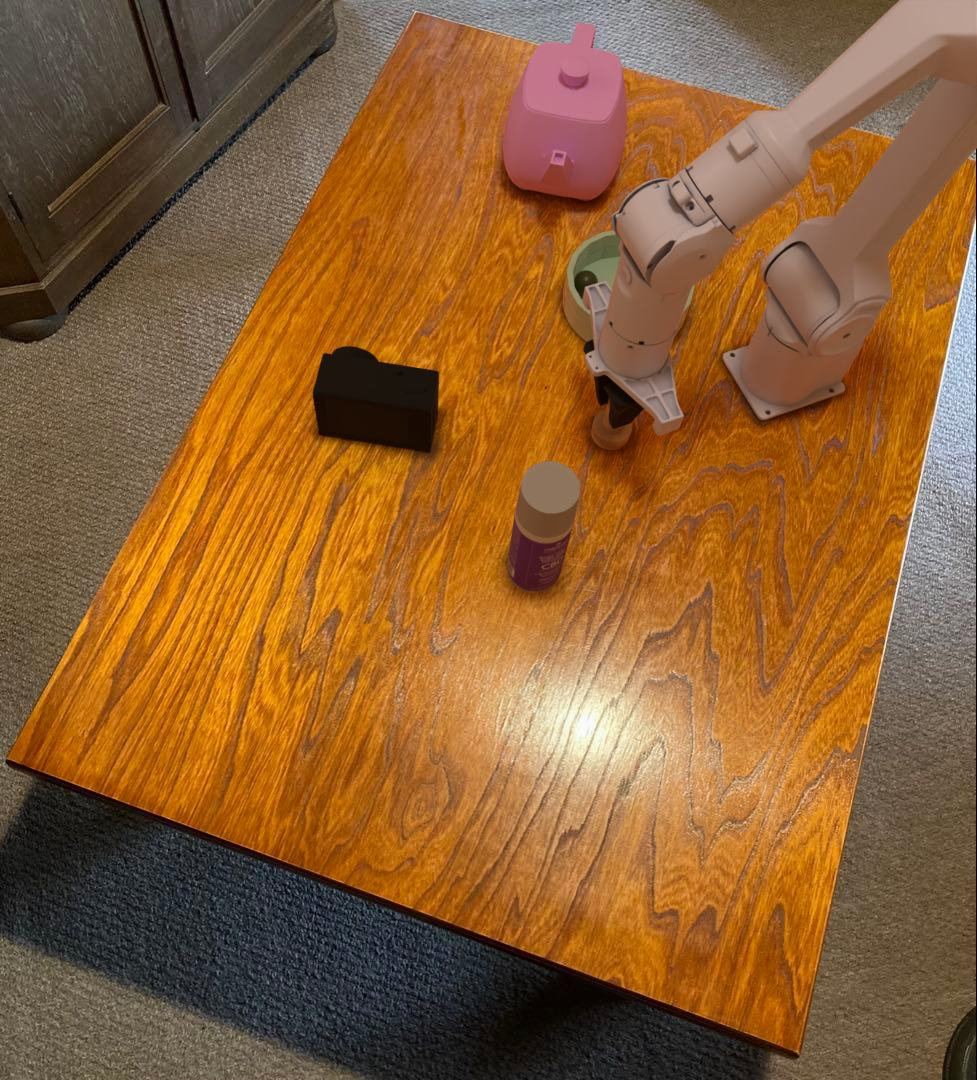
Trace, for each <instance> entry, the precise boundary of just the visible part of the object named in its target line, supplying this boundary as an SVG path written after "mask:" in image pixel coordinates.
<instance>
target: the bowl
mask: <svg viewBox="0 0 977 1080" xmlns="http://www.w3.org/2000/svg"><path fill="white" fill-rule="evenodd" d="M619 242H620V238H619V237H618V236H617V235H616V234H615V232H614V230H613V229H612V230H605V231H602V232H599V233H598V234H595V235H593V236H591V237H589V238H587V239H585V240H584V241H583V242H581V244H580V245H579V246H578V247H577V248H576V249H575V250H574V251H573V253H572V254H571V256H570V260H569V262H568V266H567V267H566V272H565V277H564V283H563V288H562V310H563V312H564V316H565V318H566V320H567V322H568V324H569V326H570V327H571V329H572V330H573V331H574V332H575V334H576V335H577V336H579V337H580V338H581V339H582V340H583V341H584V342H585V343H587V342H588V341H590V340H592V339H593V332H592V323H591V314H590V310H588V309H586V308H585V306H584V304H583V302H582V299H583V295H581V294H579V293H578V292H577V290H576V289H575V285H574V278H575V276H576V275H577V274H578V273H579V272H580V271H583V270H588V271H591V272H593V273H594V274H595V275H596V277H597V279H598V283H600V282H603V281H606V282H607V283H608V285H609V286H610V288H611V289H612V288H613V284H614V280H615V275H616V271H617V267H618V263H619V259H620V255H621V253H620V252H619V250H618V247H619ZM695 288H696V284H695V285H693V286H692V288H691V291H690V294H689V297H688V300H687V303H686V305H685V308H684V311H683V314H682V317H681V320H680V323H679V326H678V329H677V331H676V335H675V337H674V339H675V338H676V337H677V336H678V334H679V333H680V331H681V329H682V328H683V326H684V323H685V320H686V318H687V315H688V312H689V309H690V306H691V303H692V300H693V296H694V293H695Z"/></svg>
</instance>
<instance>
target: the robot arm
mask: <svg viewBox="0 0 977 1080" xmlns="http://www.w3.org/2000/svg"><path fill="white" fill-rule="evenodd" d="M929 77H930V78H934V79H935V78H936V79H939V80H938V81H937V82H936V83H935V85H934V86H933V87H932V89H931V90H930V91H929V92H928V93H927V95H926V96H925V98H924V100H923V101H922V102H921V103H920V104H919V106H918V107H917V108H916V109H915V111H914V112H913V114H912V115H911V116H910V118H909V119H908V120H907V122H906V123H905V124H904V126H903V127H902V128H901V130H900V131H899V132H898V133H897V135H896V136H895V137H894V138H893V140H892V141H891V142H890V144H889V146H888V147H887V148H886V149H885V150H884V152H883V153H882V155H881V156H880V157H879V158H878V160H877V161H876V162H875V164H874V165H873V166H872V168H871V169H870V170H869V172H868V173H867V175H866V176H864V178H863V180H861V182H860V183H859V185H858V186H857V187H856V189H855V190H854V191H853V193H852V194H851V196H850V197H849V198H848V199H847V200H846V202H845V204H843V206H842V207H841V208H840V210H839V211H838V213H837V214H836V215H835V216H834V215H822V216H821V215H820V216H816V217H815V216H814V217H811V218H808V219H805V220H803V221H802V220H801V222H800V223H799V224H798V225H797V226H796V228H795V229H794V230H792V232H791V233H790V234H789V235H788V236H787V237H786V238H785V239H783V240H782V241H780V242H779V243H778V244H777V245H775V247H774V248H773V249H772V250H771V251H770V252H769V253H768V255H767V256H766V257H765V260H764V262H763V264H762V266H761V269H760V276H761V279H762V281H763V282H764V283H765V285H767V288H766V291H765V292H764V298H765V301H766V306H765V308H764V311H763V313H762V315H761V317H760V320H759V321H758V324H757V325H756V328H755V331H754V332H753V335H752V337H751V340H750V341H749V344H748V345H744V346H742V347H739V348H736V349H732V350H729V351H726V352H724V353H722V357H721V360H722V362H723V363H724V365H725V366H726V368H727V370H728V371H729V373H730V375H731V377H732V378H733V380H734V381H735V383H736V384H737V386H738V388H739V389H740V391H741V392H742V394H743V396H744V398H745V399H746V400H747V402H748V404H749V405H750V407H751V408H752V411H753V412H754V415H756V417H757V419H758V420H760V421H768V420H769V419H772V418H775V417H779V416H781V415H784V414H787V413H790V412H793V411H796V410H798V409H801V408H804V407H806V406H809V405H813V404H816V403H818V402H821V401H824V400H827V399H830V398H834V397H835V396H839V395H841V394H844V392H845V390H846V386H845V385H844V383H843V382H842V381H843V379H844V378H845V376H846V374H847V372H848V371H849V370H850V368H851V366H852V365H853V363H854V361H855V360H856V358H857V357H858V355H859V353H860V351H861V350H862V348H863V346H864V342H865V339H866V337H867V336H869V334H870V333H871V332H872V331H873V329H874V328H875V326H876V323H877V321H878V318H879V315H880V314H881V312H882V311H883V309H884V308H885V307H886V305H887V304H888V303H889V301H890V300H891V299H892V297H893V288H892V279H891V269H890V261H889V258H890V257H889V254H890V252H891V251H892V250H893V248H894V247H895V246H896V245H897V244H898V243H899V241H901V239H902V238H903V237H904V235H905V234H906V233H907V232H908V231H909V230H910V228H911V227H912V226H913V224H914V223H915V222H916V221H917V220H918V218H919V217H920V216H921V215H922V214H923V213H924V211H925V210H926V209H927V208H928V207H929V206H930V205H931V203H932V202H933V201H934V200H935V199H936V197H937V196H938V195H939V193H941V191H942V190H943V189H944V188H945V186H946V185H947V184H948V183H949V182H950V181H951V179H952V178H953V177H954V176H955V175H956V173H958V171H959V170H960V169H961V167H962V166H964V164H965V162H967V160H968V159H969V158H970V157H971V155H972V154H973V153H975V151H976V150H977V0H898V1H897V2H896V3H895V4H894V5H892V6H891V7H890V8H889V9H888V10H887V11H886V12H885V13H884V14H883V15H882V16H881V17H880V18H879V19H878V20H877V21H876V22H875V23H873V24H872V25H871V26H870V27H869V28H868V29H867V30H865V32H864V33H863V34H862V35H860V37H859V38H857V39H856V40H855V41H854V42H853V43H852V44H851V45H849V47H847V49H845V50H844V51H843V52H842V53H841V54H840V55H839V56H838V57H837V58H836V59H835V60H833V61H832V62H831V63H830V64H829V66H827V67H826V68H825V69H824V70H823V71H822V72H821V73H820V74H819V75H817V76H816V78H815V79H814V80H813V81H812V82H810V83H809V84H808V85H807V86H806V87H805V88H804V89H803V90H802V91H801V92H799V94H798V95H796V96H795V97H794V98H793V99H792V100H791V101H790V102H789V103H788V104H786V106H784V107H783V108H781V109H758V110H754V111H752V112H751V113H749V115H748V116H746V117H745V118H744V119H743V120H741V121H740V122H739V123H738V124H737V125H735V126H734V127H733V128H731V129H730V130H729V131H728V132H727V133H725V134H724V135H722V136H721V137H720V138H719V139H718V140H716V141H715V142H714V143H713V144H712V145H711V146H710V147H708V148H707V149H706V150H704V151H703V152H702V153H701V154H699V155H698V156H697V157H696V158H694V159H693V160H692V161H691V162H690V163H689V164H687V165H686V166H685V167H684V168H682V169H681V170H680V171H678V172H677V173H676V174H675V175H674V176H672V177H671V178H669V177H657V178H654V179H650V180H647V181H646V182H643V183H641V184H639V185H638V186H637V187H636V188H634V189H633V190H631V191H630V192H629V194H628V195H627V196H625V198H624V199H623V201H622V202H621V204H620V206H619V208H618V210H617V211H615V212H613V213H612V214H611V216H610V226H611V229H612V230H614V232H615V234H616V235H617V236H618V237H619V238H620V242H619V247H618V250H619V252H620V253H621V255H620V259H619V263H618V267H617V271H616V275H615V280H614V284H613V288H612V289H611V288H610V286H609V285H608V283H607V282H606V281H603V282H600V283H596V284H593V285H590V286H586V287H585V290H584V294H583V299H582V302H583V304H584V306H585V308H586V309H588V310H590V314H591V323H592V332H593V339H592V340H590V341H588V342H585V344H584V346H583V353H584V355H585V357H584V363H585V365H586V367H587V369H588V371H589V372H590V374H591V375H592V376H593V381H594V389H595V397H596V401H597V403H598V405H599V407H602V406H603V407H604V406H607V403H608V400H610V410H609V423H610V425H611V427H612V428H613V429H615V428H618V427H621V426H624V425H627V424H630V423H632V424H633V422H634V421H635V420H636V418H638V417H639V415H640V414H641V413H642V412H643V411H644V410H645V411H646V412H647V413H648V414H649V415H650V416H651V417H652V418H653V424H652V429H653V431H654V433H655V434H656V436H657V437H659V436H662V435H665V434H668V433H671V432H673V431H677V430H679V429H680V428H681V425H682V423H683V420H684V417H685V415H684V413H683V410H682V409H681V406H680V404H679V400H678V395H677V388H676V382H675V375H674V369H673V368H674V367H673V363H672V356H671V348H672V346H673V342H674V340H675V338H676V337H675V335H676V331H677V329H678V326H679V323H680V320H681V317H682V314H683V311H684V308H685V305H686V303H687V300H688V297H689V294H690V291H691V288H692V286H693V285H695V286H696V285H697V284H698V283H700V282H701V281H702V280H704V279H706V278H707V277H708V276H710V275H711V274H712V273H713V272H714V271H715V270H716V269H717V267H718V266H719V265H720V263H721V261H722V260H723V258H724V256H725V255H726V253H727V252H728V251H729V250H730V249H731V248H733V247H734V246H735V243H736V242H738V239H737V238H736V236H735V235H736V234H737V233H738V232H739V231H741V230H742V229H743V228H744V227H746V226H747V225H748V224H750V223H751V222H752V221H754V220H755V219H756V218H758V217H759V216H761V215H762V214H763V213H764V212H766V211H767V210H768V209H769V208H771V207H772V206H773V205H775V204H776V203H778V201H780V200H781V199H783V198H784V197H785V196H786V195H788V194H789V193H790V192H792V191H793V190H794V189H796V188H797V187H798V186H800V185H801V184H802V183H803V182H804V181H805V180H806V177H807V174H808V171H809V167H810V164H811V160H812V158H813V156H814V153H815V152H816V151H818V150H819V149H822V148H823V147H824V146H826V145H827V144H828V143H830V142H832V141H833V140H835V139H836V138H838V137H839V136H840V135H842V134H843V133H845V132H847V131H848V130H850V129H851V128H853V127H855V125H857V124H858V123H860V122H862V121H863V120H865V119H867V118H868V117H869V116H871V115H872V114H875V112H876V111H878V110H880V109H881V108H883V107H884V106H886V105H887V104H888V103H890V102H892V101H893V100H895V99H896V98H897V97H899V96H900V95H902V94H904V93H905V92H907V91H909V90H910V89H911V88H913V87H914V86H916V85H917V84H919V83H920V82H922V81H924V80H925V79H927V78H929ZM676 336H677V335H676ZM674 337H675V338H674Z"/></svg>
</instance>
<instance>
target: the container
mask: <svg viewBox="0 0 977 1080" xmlns="http://www.w3.org/2000/svg"><path fill="white" fill-rule="evenodd" d="M518 491H519V492H518V496H517V501H516V506H515V510H514V515H513V522H512V529H511V530H512V531H511V534H510V535H511V536H510V542H509V549H508V555H507V562H506V563H507V564H506V572H507V573H506V574H507V576H508V578H509V580H510V582H511V583H512V585H513V586H514V587H516V588H518V590H520V591H522V592H525V593H528V594H542V593H545V592H547V591H549V590H550V589H552V588H553V587H554V586H555V585H556V584H557V582H558V581H559V579H560V576H561V572H562V569H563V565H564V561H565V558H566V554H567V550H568V547H569V543H570V539H571V536H572V531H573V528H574V524H575V519H576V514H577V509H578V505H579V500H580V495H581V482H580V479H579V477H578V475H577V474H576V472H575V471H574V470H573V469H572V468H571V467H569V466H567V465H566V464H564V463H562V462H558V461H553V460H545V461H540V462H537V463H535V464H533V465H531V466H529V468H528V469H527V470H526V471H525V473H523V475H522V478H521V483H520V487H519V490H518Z"/></svg>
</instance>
